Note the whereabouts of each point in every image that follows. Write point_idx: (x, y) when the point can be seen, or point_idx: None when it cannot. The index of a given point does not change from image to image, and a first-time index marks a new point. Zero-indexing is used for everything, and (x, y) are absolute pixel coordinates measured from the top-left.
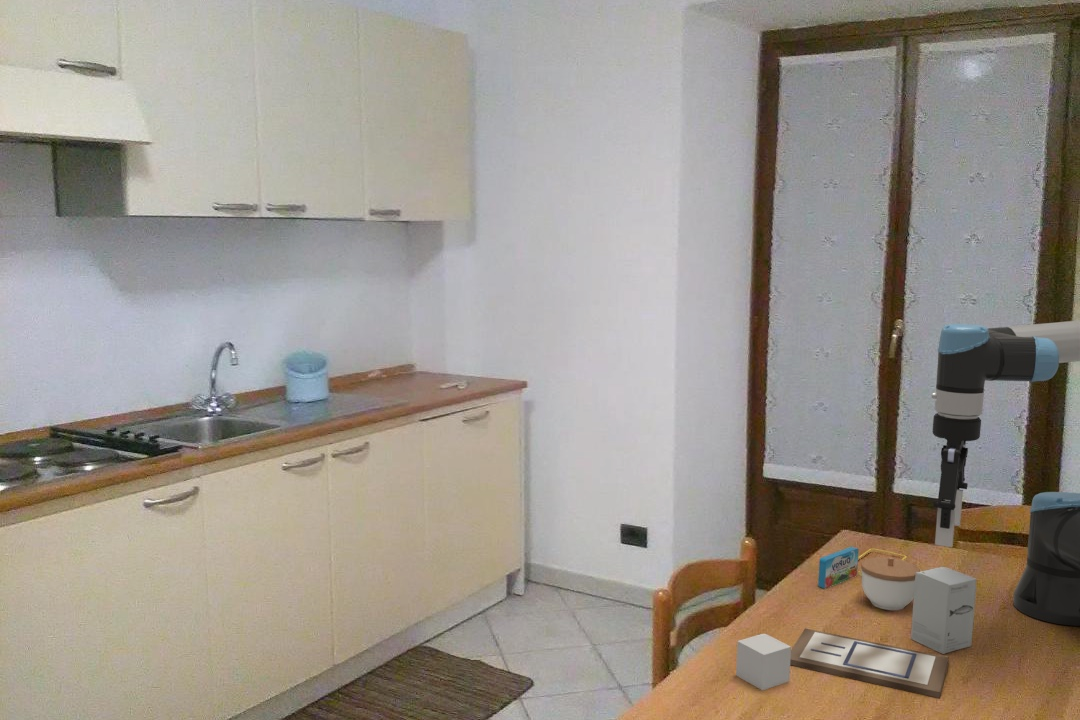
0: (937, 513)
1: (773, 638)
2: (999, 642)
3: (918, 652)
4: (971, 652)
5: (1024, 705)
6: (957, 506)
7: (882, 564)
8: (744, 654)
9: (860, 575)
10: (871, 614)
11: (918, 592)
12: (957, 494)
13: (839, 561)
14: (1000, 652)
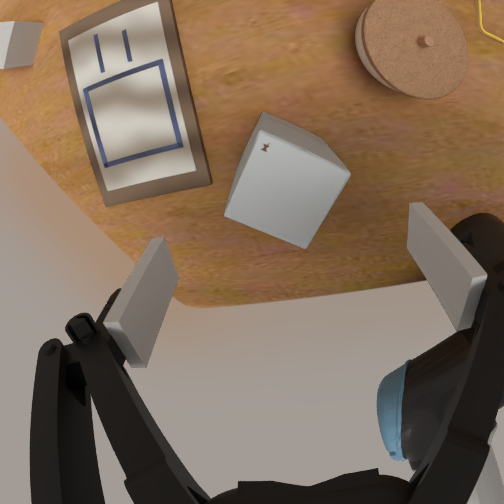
0: (113, 305)
1: (8, 39)
2: (336, 221)
3: (196, 145)
4: None
5: None
6: (433, 276)
7: (418, 26)
8: None
9: (475, 2)
10: (327, 31)
11: (255, 133)
12: (454, 304)
13: None
14: None
